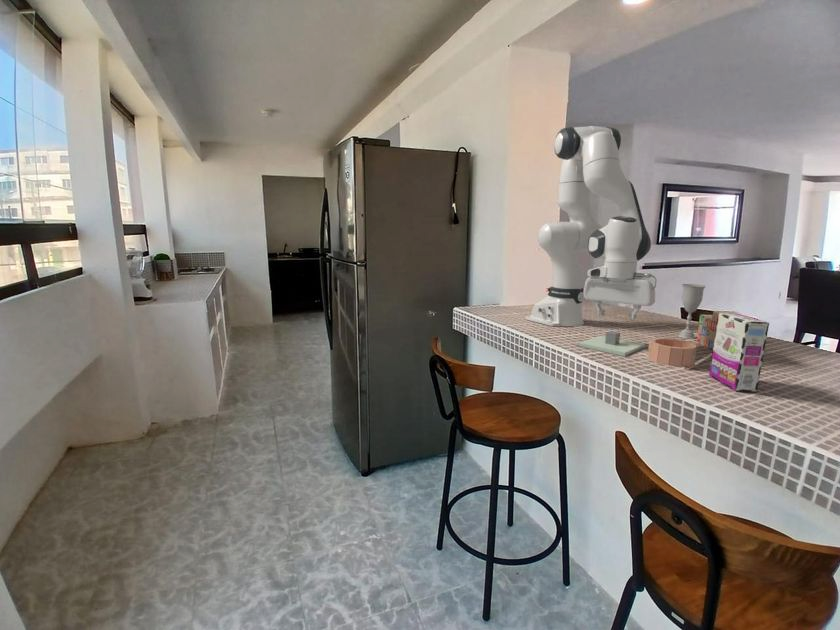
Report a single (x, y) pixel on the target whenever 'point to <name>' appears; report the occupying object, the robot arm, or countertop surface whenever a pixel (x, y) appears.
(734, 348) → the candy bar box
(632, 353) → the mat
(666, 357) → the bowl
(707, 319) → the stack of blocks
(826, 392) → the countertop surface
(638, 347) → the lid
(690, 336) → the chalice
